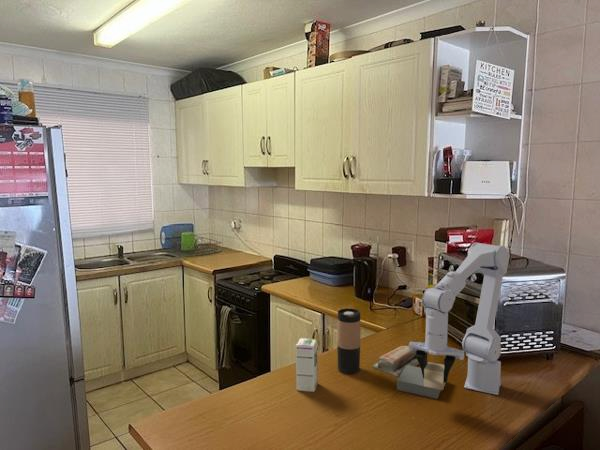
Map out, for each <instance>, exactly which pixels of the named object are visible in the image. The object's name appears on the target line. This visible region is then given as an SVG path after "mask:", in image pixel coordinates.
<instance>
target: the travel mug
mask: <svg viewBox="0 0 600 450" xmlns="http://www.w3.org/2000/svg"><path fill="white" fill-rule="evenodd" d="M336 333H337V337H336V339H337V341H336V342H337V343H336V344H337V346H336V347H337V369H338V372H340V373H341V374H343V375H355V374H357V373H359V372H360V365H361V362H360V361H361V311H360V310H358V309H356V308H342V309H339V310H338V311H337V332H336Z"/></svg>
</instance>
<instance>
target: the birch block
mask: <svg viewBox="0 0 600 450" xmlns="http://www.w3.org/2000/svg"><path fill="white" fill-rule="evenodd" d="M445 385H446V383H444V364H442V363H435V362H430V361H427V365H426V367H425V369H424V386H425V387H430V388H434V389H439V390H441V391H443V390H444V387H445Z"/></svg>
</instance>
